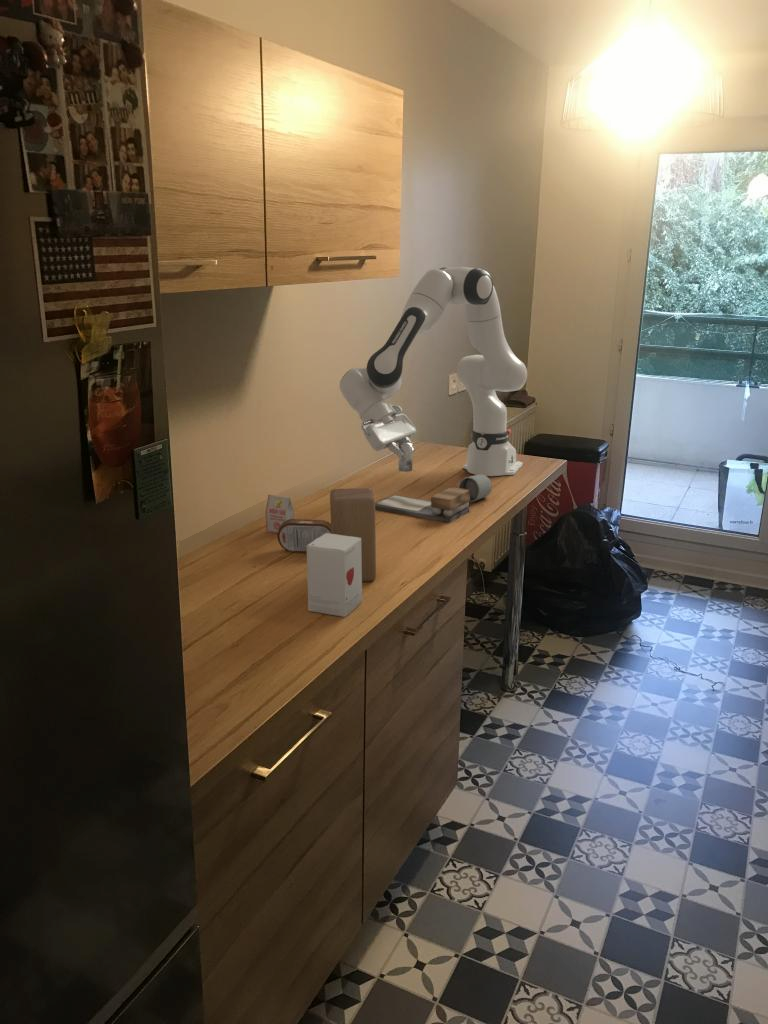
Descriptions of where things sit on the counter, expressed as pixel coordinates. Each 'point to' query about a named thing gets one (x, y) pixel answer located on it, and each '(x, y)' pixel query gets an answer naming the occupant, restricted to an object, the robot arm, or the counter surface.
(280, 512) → the tea bag
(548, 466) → the counter surface
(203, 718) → the counter surface
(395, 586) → the counter surface
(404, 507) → the grey board with block
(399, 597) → the counter surface
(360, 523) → the wooden block
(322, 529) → the tin
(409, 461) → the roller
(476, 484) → the ceramic mug
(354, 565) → the supplement box
